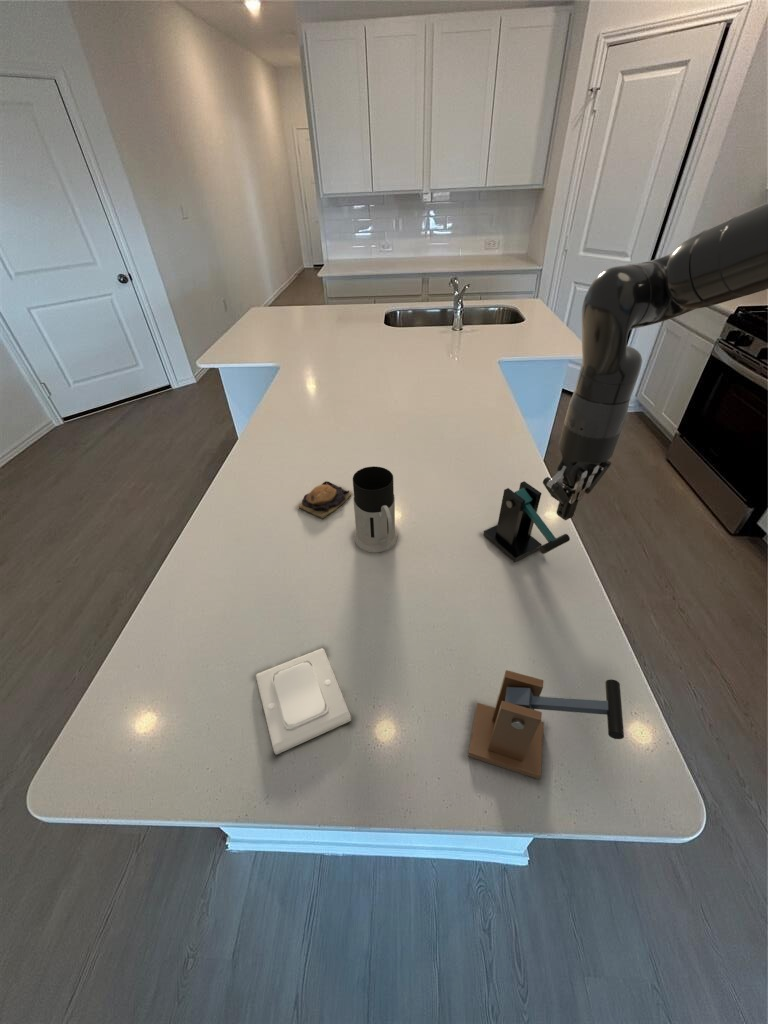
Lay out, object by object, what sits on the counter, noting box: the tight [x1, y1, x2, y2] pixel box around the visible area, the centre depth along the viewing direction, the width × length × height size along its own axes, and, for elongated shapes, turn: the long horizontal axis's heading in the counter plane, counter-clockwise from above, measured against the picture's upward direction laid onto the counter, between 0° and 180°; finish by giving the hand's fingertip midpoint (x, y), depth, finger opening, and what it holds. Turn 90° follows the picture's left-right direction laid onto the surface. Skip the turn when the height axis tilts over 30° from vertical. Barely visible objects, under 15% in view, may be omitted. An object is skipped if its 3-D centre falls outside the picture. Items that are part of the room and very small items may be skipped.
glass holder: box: [352, 466, 398, 554], centre depth 83 cm, size 9×14×15 cm, turn 18°
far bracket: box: [482, 481, 543, 563], centre depth 84 cm, size 9×7×13 cm
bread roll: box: [298, 480, 352, 519], centre depth 98 cm, size 11×8×4 cm
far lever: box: [514, 488, 571, 555], centre depth 79 cm, size 12×6×2 cm, turn 31°
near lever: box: [505, 679, 625, 740], centre depth 50 cm, size 12×6×2 cm, turn 71°
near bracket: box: [467, 669, 544, 780], centre depth 55 cm, size 9×7×13 cm
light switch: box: [255, 647, 352, 755], centre depth 63 cm, size 11×4×13 cm
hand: (564, 516), depth 73 cm, fingers closed
